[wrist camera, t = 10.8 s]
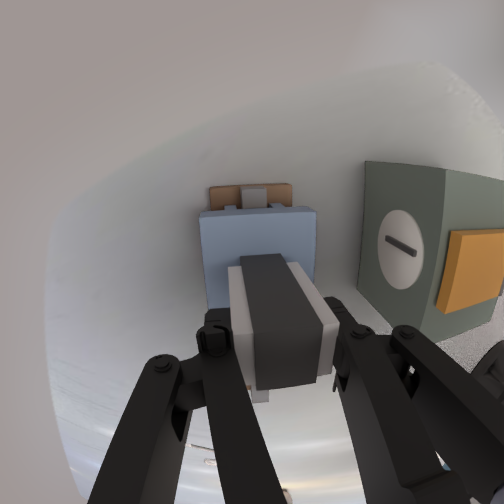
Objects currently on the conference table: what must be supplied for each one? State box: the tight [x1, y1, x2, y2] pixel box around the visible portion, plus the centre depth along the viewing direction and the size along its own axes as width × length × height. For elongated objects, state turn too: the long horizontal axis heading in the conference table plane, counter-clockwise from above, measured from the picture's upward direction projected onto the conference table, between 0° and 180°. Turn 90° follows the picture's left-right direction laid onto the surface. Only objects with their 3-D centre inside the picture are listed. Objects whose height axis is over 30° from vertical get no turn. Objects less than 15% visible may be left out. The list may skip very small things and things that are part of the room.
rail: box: [210, 183, 292, 403], centre depth 23 cm, size 20×6×4 cm, turn 2°
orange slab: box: [436, 229, 504, 314], centre depth 13 cm, size 5×8×1 cm, turn 92°
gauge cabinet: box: [357, 161, 504, 343], centre depth 19 cm, size 12×11×10 cm
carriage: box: [199, 203, 324, 391], centre depth 15 cm, size 8×7×12 cm
